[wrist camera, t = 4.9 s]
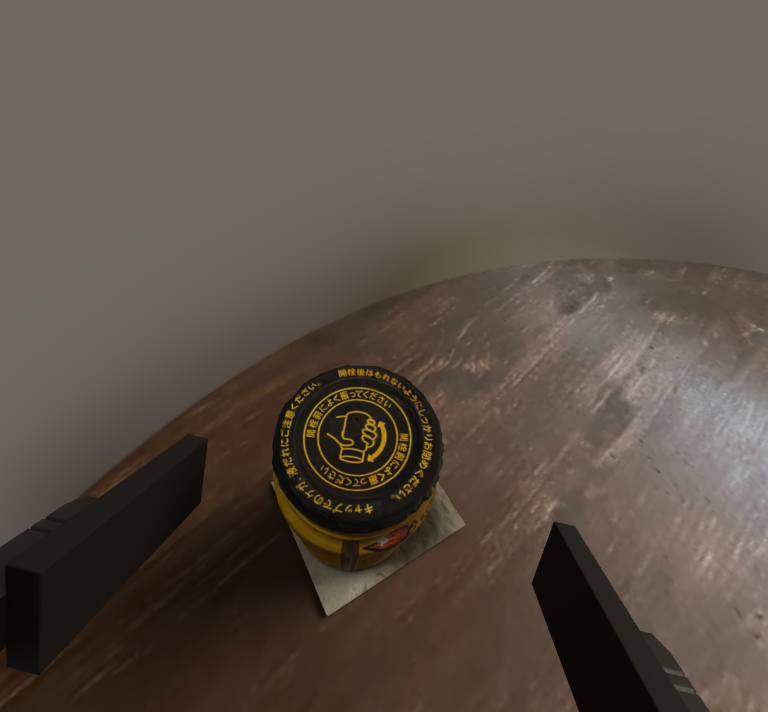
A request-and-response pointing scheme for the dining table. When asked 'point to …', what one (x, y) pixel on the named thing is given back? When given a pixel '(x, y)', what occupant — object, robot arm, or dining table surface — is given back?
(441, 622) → the dining table surface
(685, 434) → the dining table surface
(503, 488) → the dining table surface
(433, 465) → the condiment
